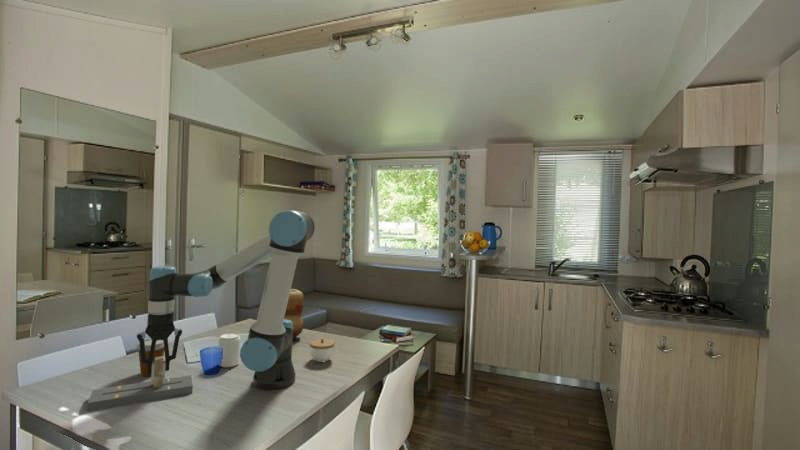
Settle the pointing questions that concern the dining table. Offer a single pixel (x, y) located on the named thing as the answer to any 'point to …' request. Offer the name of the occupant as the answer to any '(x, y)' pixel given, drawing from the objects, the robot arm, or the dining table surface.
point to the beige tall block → (158, 372)
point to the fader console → (138, 393)
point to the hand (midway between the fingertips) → (158, 381)
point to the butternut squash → (295, 311)
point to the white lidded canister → (230, 349)
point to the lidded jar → (321, 349)
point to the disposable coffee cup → (157, 353)
